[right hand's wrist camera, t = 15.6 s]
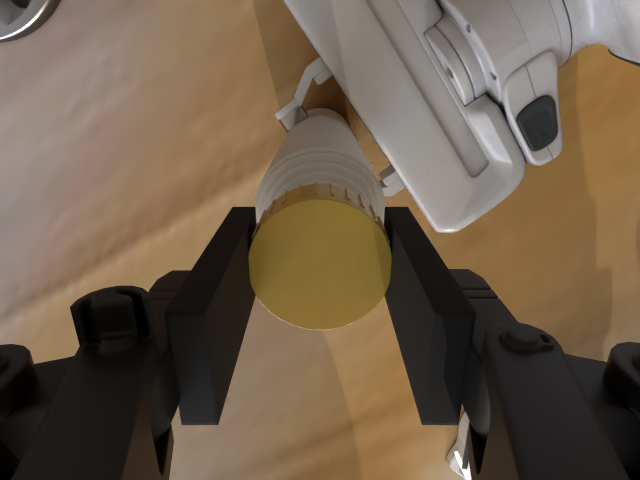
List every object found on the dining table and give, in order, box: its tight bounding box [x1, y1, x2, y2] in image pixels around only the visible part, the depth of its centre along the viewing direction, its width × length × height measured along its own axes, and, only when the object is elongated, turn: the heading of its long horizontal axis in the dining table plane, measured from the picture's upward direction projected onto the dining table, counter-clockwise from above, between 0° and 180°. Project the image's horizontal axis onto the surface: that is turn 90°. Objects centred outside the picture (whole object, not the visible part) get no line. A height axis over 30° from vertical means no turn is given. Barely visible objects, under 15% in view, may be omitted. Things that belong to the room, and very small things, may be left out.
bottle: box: [254, 108, 386, 225], centre depth 24 cm, size 6×6×25 cm
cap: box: [248, 182, 392, 330], centre depth 13 cm, size 4×4×2 cm
